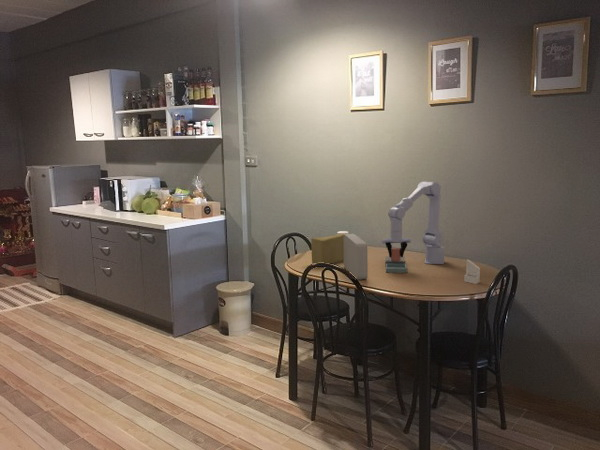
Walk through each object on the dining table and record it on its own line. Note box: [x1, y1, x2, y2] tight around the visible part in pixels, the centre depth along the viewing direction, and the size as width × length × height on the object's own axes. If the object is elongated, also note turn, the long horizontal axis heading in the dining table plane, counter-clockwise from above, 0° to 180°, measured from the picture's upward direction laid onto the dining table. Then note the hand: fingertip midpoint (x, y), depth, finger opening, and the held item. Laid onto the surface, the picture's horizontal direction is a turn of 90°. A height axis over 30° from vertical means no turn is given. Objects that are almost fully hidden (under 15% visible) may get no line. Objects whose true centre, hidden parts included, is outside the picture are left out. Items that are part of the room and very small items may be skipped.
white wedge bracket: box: [463, 258, 481, 285], centre depth 235 cm, size 4×10×9 cm
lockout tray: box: [385, 263, 408, 274], centre depth 259 cm, size 10×10×2 cm
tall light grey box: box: [343, 233, 369, 281], centre depth 254 cm, size 29×8×18 cm, turn 8°
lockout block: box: [391, 247, 401, 261], centre depth 257 cm, size 4×4×6 cm
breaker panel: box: [384, 256, 406, 268], centre depth 270 cm, size 10×11×4 cm
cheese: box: [310, 234, 344, 265], centre depth 277 cm, size 22×10×15 cm, turn 126°
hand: (396, 256), depth 258 cm, fingers closed on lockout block, 5 cm apart
